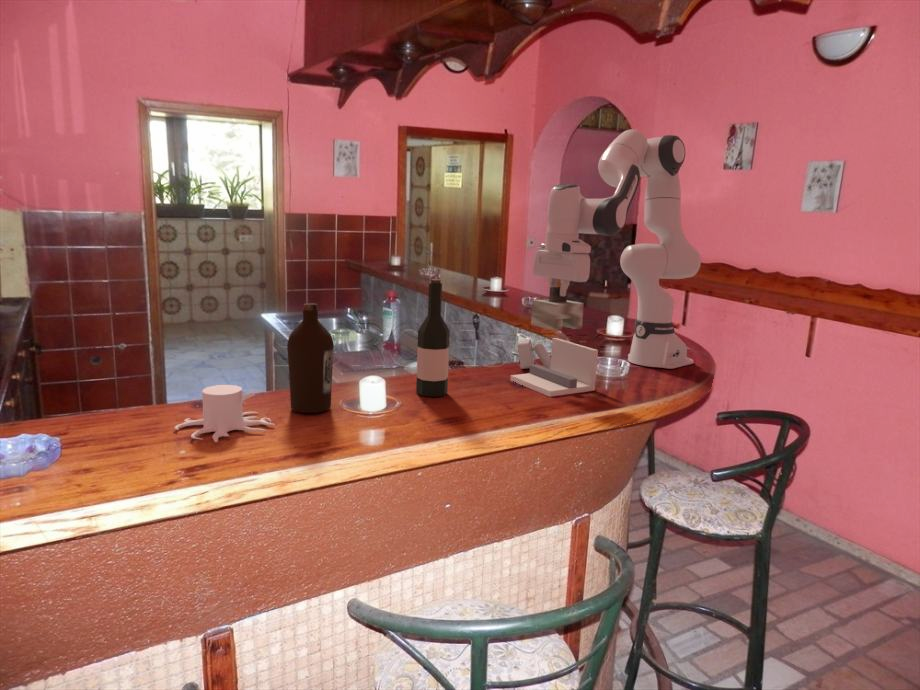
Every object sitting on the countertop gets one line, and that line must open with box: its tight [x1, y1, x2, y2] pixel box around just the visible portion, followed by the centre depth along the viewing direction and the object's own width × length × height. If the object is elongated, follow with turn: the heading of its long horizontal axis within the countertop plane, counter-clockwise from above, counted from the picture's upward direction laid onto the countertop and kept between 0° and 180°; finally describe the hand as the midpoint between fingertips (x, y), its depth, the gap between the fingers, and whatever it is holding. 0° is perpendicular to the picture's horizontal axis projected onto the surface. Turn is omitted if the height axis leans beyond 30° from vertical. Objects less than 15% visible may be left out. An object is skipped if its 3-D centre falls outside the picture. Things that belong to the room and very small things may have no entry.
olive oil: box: [286, 302, 335, 414], centre depth 153 cm, size 11×11×25 cm
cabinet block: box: [530, 286, 585, 331], centre depth 180 cm, size 10×10×11 cm
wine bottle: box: [415, 278, 451, 398], centre depth 169 cm, size 8×8×30 cm
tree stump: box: [173, 384, 276, 443], centre depth 141 cm, size 20×19×8 cm
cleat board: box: [510, 337, 599, 398], centre depth 183 cm, size 16×18×12 cm
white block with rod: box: [517, 338, 551, 370], centre depth 201 cm, size 8×10×10 cm
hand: (558, 295), depth 179 cm, fingers closed on cabinet block, 2 cm apart
